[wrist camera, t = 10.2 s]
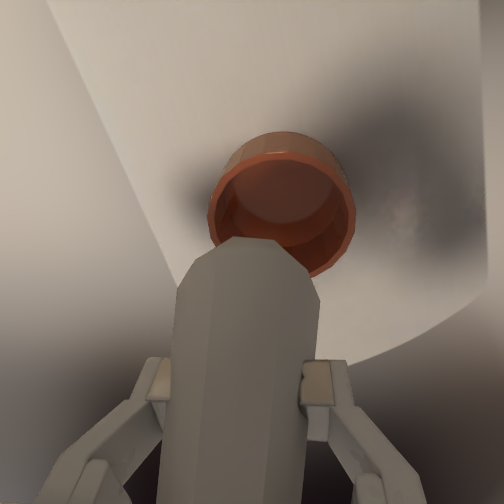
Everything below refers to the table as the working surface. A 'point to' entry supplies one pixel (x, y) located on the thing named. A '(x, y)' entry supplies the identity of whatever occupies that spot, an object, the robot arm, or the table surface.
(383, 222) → the table surface
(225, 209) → the pot
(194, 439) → the grey rounded piece
